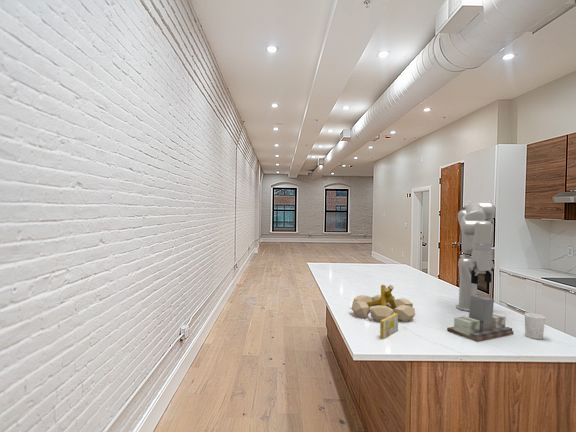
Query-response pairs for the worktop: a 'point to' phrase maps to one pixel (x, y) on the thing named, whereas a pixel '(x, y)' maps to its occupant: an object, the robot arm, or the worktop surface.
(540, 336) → the white cup
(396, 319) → the candy box
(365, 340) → the worktop surface
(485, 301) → the skincare box
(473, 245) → the robot arm
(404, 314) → the campfire
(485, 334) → the board
